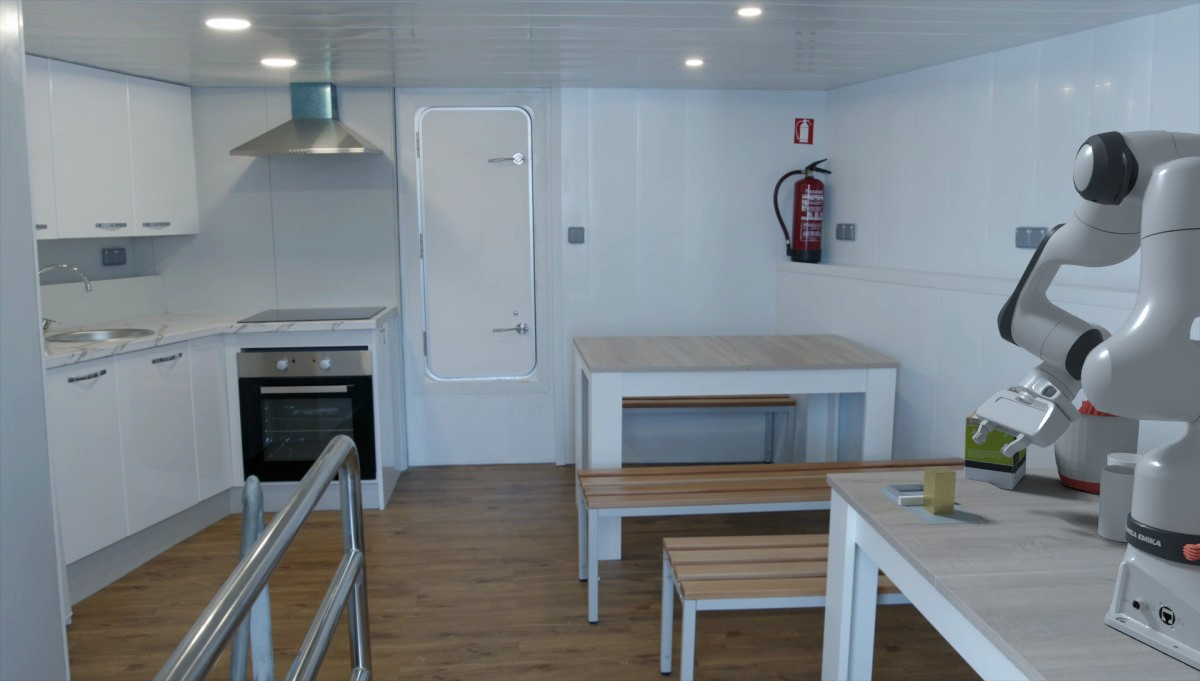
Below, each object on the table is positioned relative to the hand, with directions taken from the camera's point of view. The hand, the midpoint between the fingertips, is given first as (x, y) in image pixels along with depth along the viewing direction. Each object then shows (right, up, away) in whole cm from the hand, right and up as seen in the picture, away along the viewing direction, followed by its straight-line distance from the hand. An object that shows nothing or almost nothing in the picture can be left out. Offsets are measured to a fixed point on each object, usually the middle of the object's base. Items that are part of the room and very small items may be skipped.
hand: (989, 448), depth 163 cm
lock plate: (-10, -12, +4) cm, 17 cm away
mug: (+19, -14, -9) cm, 25 cm away
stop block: (-10, -12, 0) cm, 15 cm away
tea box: (+12, -10, +25) cm, 30 cm away
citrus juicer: (+30, -11, +20) cm, 38 cm away
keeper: (-11, -12, +10) cm, 19 cm away
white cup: (+29, -13, +5) cm, 32 cm away
